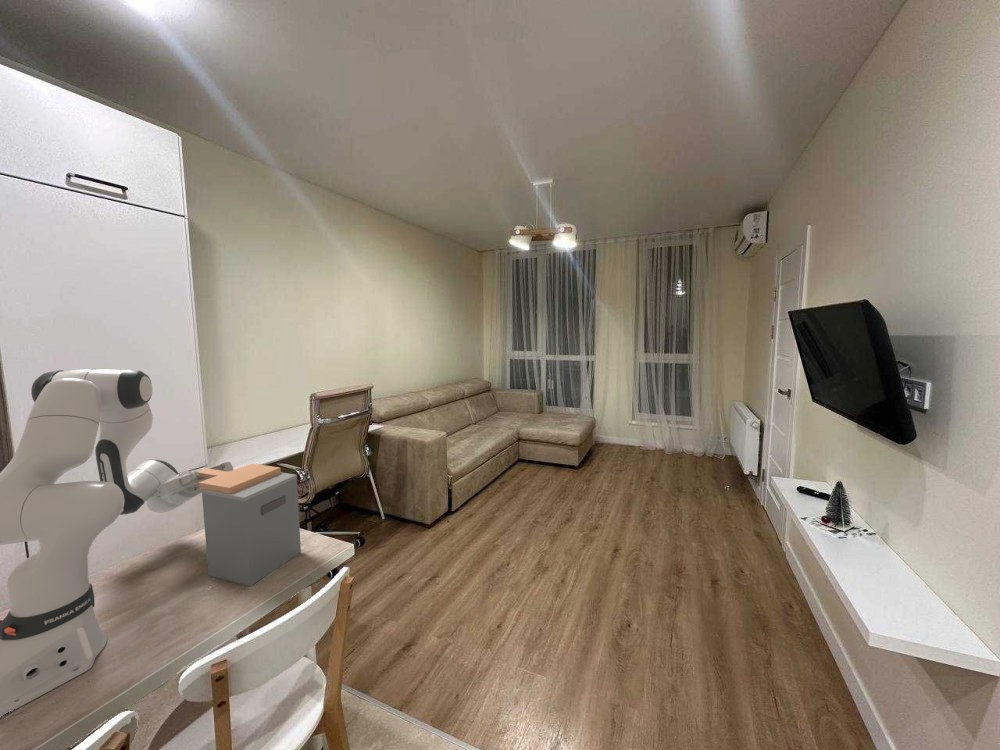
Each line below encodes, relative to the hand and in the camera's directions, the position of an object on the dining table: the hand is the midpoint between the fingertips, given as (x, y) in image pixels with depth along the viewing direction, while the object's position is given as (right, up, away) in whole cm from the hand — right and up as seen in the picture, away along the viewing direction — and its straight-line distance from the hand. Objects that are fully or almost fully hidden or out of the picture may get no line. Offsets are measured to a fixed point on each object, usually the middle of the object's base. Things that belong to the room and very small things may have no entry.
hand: (211, 469), depth 121 cm
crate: (+15, -29, -2) cm, 32 cm away
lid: (+6, -2, -2) cm, 7 cm away
